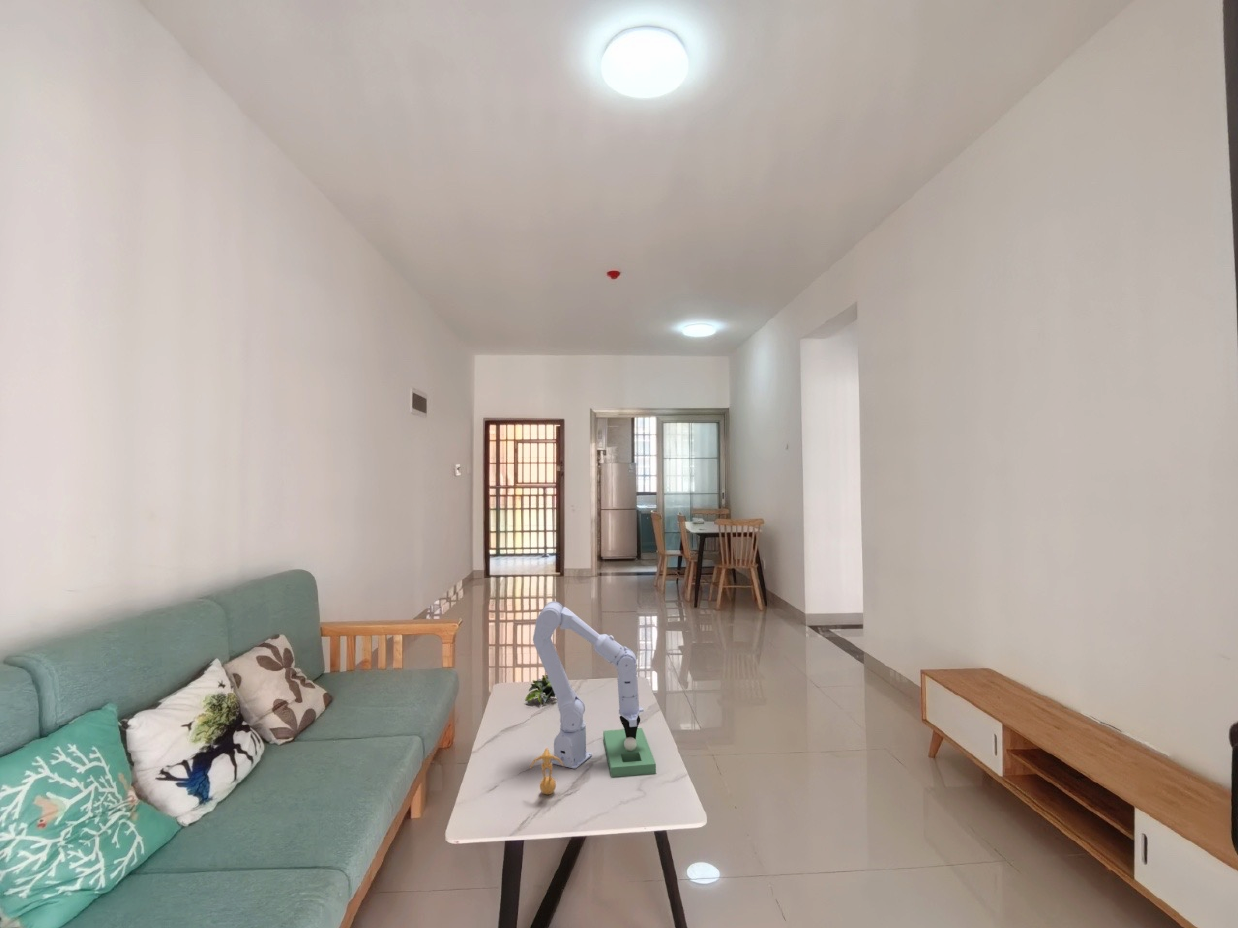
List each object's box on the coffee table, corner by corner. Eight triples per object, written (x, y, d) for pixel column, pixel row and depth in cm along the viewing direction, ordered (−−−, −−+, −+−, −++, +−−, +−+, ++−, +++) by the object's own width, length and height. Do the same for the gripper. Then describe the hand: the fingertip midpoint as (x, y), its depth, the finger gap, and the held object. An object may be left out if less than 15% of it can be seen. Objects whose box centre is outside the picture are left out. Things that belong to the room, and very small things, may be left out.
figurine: (564, 788, 152) (563, 740, 152) (564, 800, 146) (562, 751, 146) (532, 790, 151) (531, 742, 152) (530, 802, 145) (529, 753, 146)
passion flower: (548, 713, 217) (566, 684, 219) (545, 719, 206) (565, 688, 209) (522, 695, 218) (541, 667, 221) (518, 700, 207) (538, 670, 210)
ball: (628, 731, 168) (630, 738, 171) (620, 741, 166) (622, 748, 169) (638, 739, 166) (640, 745, 168) (630, 749, 164) (632, 755, 166)
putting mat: (656, 773, 159) (655, 763, 159) (611, 776, 157) (611, 767, 157) (642, 736, 182) (642, 727, 183) (603, 738, 181) (603, 730, 181)
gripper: (646, 701, 162) (649, 751, 162) (638, 684, 177) (641, 730, 176) (620, 704, 162) (623, 754, 161) (614, 686, 176) (617, 732, 176)
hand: (631, 742), depth 169 cm, fingers closed, pressing on ball
